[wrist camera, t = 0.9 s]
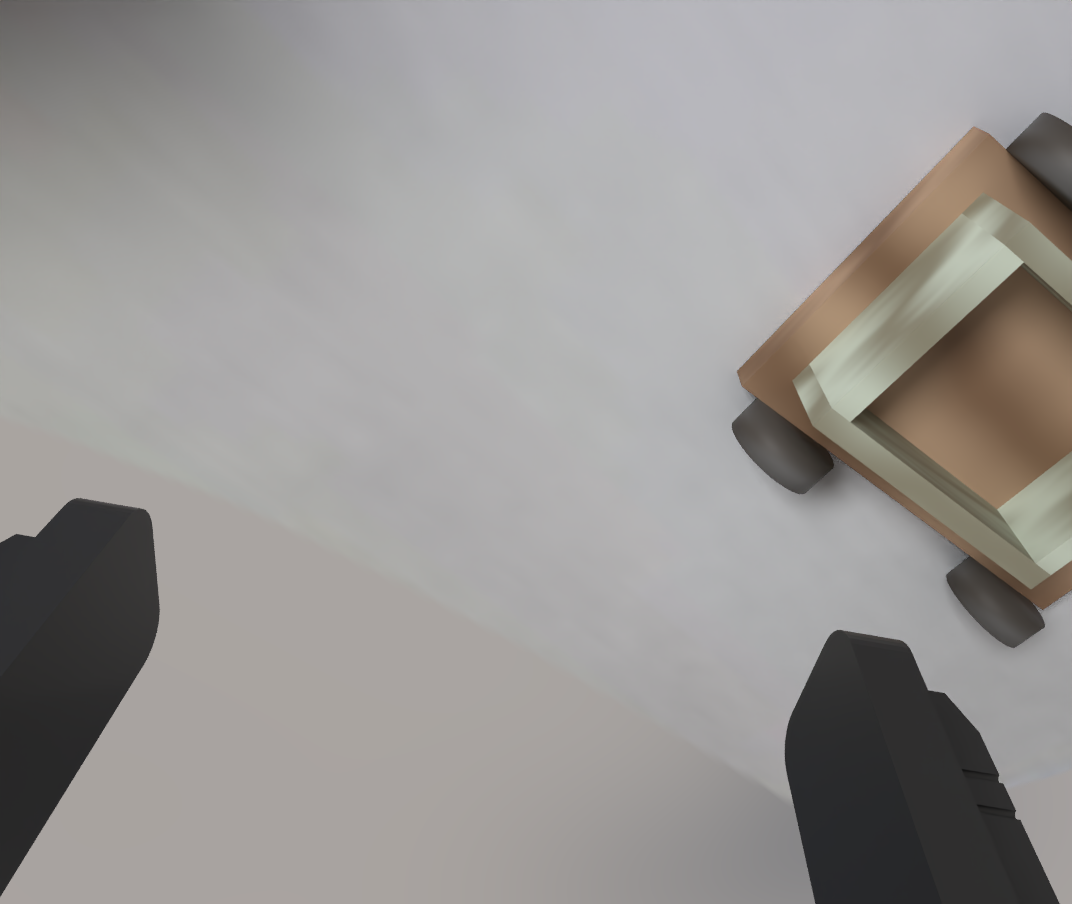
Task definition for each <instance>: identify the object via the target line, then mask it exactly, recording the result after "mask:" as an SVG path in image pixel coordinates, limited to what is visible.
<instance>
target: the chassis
mask: <svg viewBox="0 0 1072 904" xmlns="http://www.w3.org/2000/svg"><path fill="white" fill-rule="evenodd" d="M737 373H738V376H739V379H740V382H741V385H742V387H743V388H745V389H746V390H748V391H749V392H750V393H752V394H753V395H754V396H756V397H757V399H756V400H755V401H754V402H753V403H752V404H751V405H750V406H749V407H748V408H747V409H746V410H745V411H744V412H743V413H742V414H741V415H740V416H739V417H738V418H737V419H736V420H735V421H734V422H733V423H732V430H733V433H734V435H735V437H736V439H737V440H738V442H739V443H740V445H741V446H742V448H743V449H744V450H745V452H746V453H747V454H748V455H749V456H750V458H751V459H752V460H753V461H754V462H755V463H756V464H757V465H758V466H759V467H760V468H761V469H762V470H763V471H764V472H765V473H766V474H768V475H769V476H770V477H771V478H772V479H774V480H775V481H776V482H778V483H779V484H780V485H782V486H783V487H785V488H787V489H788V490H790V491H792V492H795V493H798V494H804V493H806V492H807V491H808V490H809V489H810V488H811V487H812V486H814V485H815V484H816V483H817V482H818V481H819V480H820V479H821V478H823V477H824V476H825V475H826V474H827V473H828V472H829V471H830V470H831V469H833V467H834V463H833V460H832V458H831V456H830V454H829V452H828V451H830V452H831V453H832V454H834V455H835V456H836V457H838V458H839V459H840V460H842V461H843V462H844V463H846V464H847V465H848V466H850V467H851V468H852V469H854V470H855V471H856V472H858V473H859V474H861V475H862V476H863V477H865V478H866V479H867V480H869V481H870V482H871V483H873V484H874V485H875V486H877V487H878V488H879V489H881V490H882V491H883V492H885V493H886V494H887V495H889V496H890V497H891V498H893V499H894V500H896V501H897V502H898V503H900V504H901V505H902V506H904V507H905V508H906V509H908V510H909V511H910V512H912V513H913V514H914V515H916V516H917V517H918V518H920V519H921V520H922V521H924V522H925V523H926V524H928V525H929V526H930V527H932V528H933V529H935V530H936V531H937V532H939V533H940V534H941V535H943V536H944V537H945V538H947V539H948V540H949V541H951V542H952V543H953V544H955V545H956V546H957V547H959V548H960V549H961V550H963V551H964V552H965V553H967V554H968V555H969V556H970V557H969V558H967V559H966V560H965V561H963V562H962V563H961V564H959V565H958V566H957V567H955V568H954V569H953V570H952V571H950V572H949V573H948V574H947V575H946V578H947V581H948V584H949V586H950V587H951V589H952V591H953V592H954V594H955V595H956V597H957V598H958V600H959V601H960V602H961V603H962V605H963V606H964V607H965V608H966V610H967V611H968V612H969V613H970V614H971V615H972V616H973V617H974V619H975V620H976V621H977V622H978V623H979V624H980V625H981V626H982V627H983V628H984V629H986V630H987V631H988V632H989V633H990V634H991V635H992V636H994V637H995V638H996V639H997V640H999V641H1000V642H1002V643H1003V644H1005V645H1007V646H1009V647H1012V648H1015V647H1016V646H1018V645H1019V644H1021V643H1022V642H1024V641H1025V640H1027V639H1028V638H1030V637H1031V636H1032V635H1034V634H1035V633H1037V632H1038V631H1040V630H1041V629H1043V628H1044V627H1045V623H1044V620H1043V618H1042V617H1041V615H1040V613H1039V612H1038V610H1037V609H1036V607H1035V606H1034V605H1033V603H1034V604H1035V605H1037V606H1038V607H1039V608H1041V609H1042V610H1043V609H1045V608H1046V607H1048V606H1049V605H1051V604H1052V603H1053V602H1055V601H1056V600H1058V599H1059V598H1061V597H1062V596H1063V595H1065V594H1066V593H1068V592H1069V591H1071V590H1072V126H1071V125H1069V124H1068V123H1066V122H1064V121H1063V120H1061V119H1059V118H1057V117H1055V116H1053V115H1051V114H1048V113H1042V114H1041V115H1040V116H1039V117H1038V118H1037V119H1036V120H1035V121H1034V122H1033V123H1032V124H1031V125H1030V126H1029V127H1028V128H1027V129H1026V130H1025V131H1024V132H1023V133H1022V134H1021V135H1020V136H1019V137H1018V138H1017V139H1016V140H1015V141H1014V142H1013V143H1012V144H1011V145H1010V146H1009V147H1008V148H1007V149H1005V148H1004V147H1003V146H1002V145H1001V144H1000V143H998V142H997V141H996V140H995V139H994V138H993V137H992V136H991V135H990V134H988V133H986V132H984V131H982V130H980V129H978V128H976V127H973V128H972V129H971V130H970V131H969V132H968V133H967V134H966V135H965V136H964V137H963V138H962V139H961V140H960V141H959V142H958V143H957V144H956V145H955V146H954V147H953V149H952V150H951V151H950V152H949V153H948V154H947V155H946V156H945V157H944V158H943V159H942V160H941V161H940V162H939V163H938V164H937V165H936V166H935V167H934V168H933V169H932V170H931V171H930V172H929V173H928V174H927V175H926V176H925V177H924V179H923V180H922V181H921V182H920V183H919V184H918V185H917V186H916V187H915V188H914V189H913V190H912V191H911V192H910V193H909V194H908V195H907V196H906V197H905V198H904V199H903V200H902V201H901V202H900V203H899V204H898V205H897V206H896V207H895V209H894V210H893V211H892V212H891V213H890V214H889V215H888V216H887V217H886V218H885V219H884V220H883V221H882V222H881V223H880V224H879V225H878V226H877V227H876V228H875V229H874V230H873V231H872V232H871V233H870V234H869V235H868V236H867V237H866V239H865V240H864V241H863V242H862V243H861V244H860V245H859V246H858V247H857V248H856V249H855V250H854V251H853V252H852V253H851V254H850V255H849V256H848V257H847V258H846V259H845V260H844V261H843V262H842V263H841V264H840V265H839V266H838V267H837V269H836V270H835V271H834V272H833V273H832V274H831V275H830V276H829V277H828V278H827V279H826V280H825V281H824V282H823V283H822V284H821V285H820V286H819V287H818V288H817V289H816V290H815V291H814V292H813V293H812V294H811V295H810V296H809V297H808V299H807V300H806V301H805V302H804V303H803V304H802V305H801V306H800V307H799V308H798V309H797V310H796V311H795V312H794V313H793V314H792V315H791V316H790V317H789V318H788V319H787V320H786V321H785V322H784V323H783V324H782V325H781V326H780V327H779V329H778V330H777V331H776V332H775V333H774V334H773V335H772V336H771V337H770V338H769V339H768V340H767V341H766V342H765V343H764V344H763V345H762V346H761V347H760V348H759V349H758V350H757V351H756V352H755V353H754V354H753V355H752V356H751V357H750V359H749V360H748V361H747V362H746V363H745V364H744V365H743V366H742V367H741V368H740V369H739V370H738V371H737ZM827 450H828V451H827ZM1032 602H1033V603H1032Z"/></svg>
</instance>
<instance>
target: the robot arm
mask: <svg viewBox="0 0 1072 904" xmlns="http://www.w3.org/2000/svg"><path fill="white" fill-rule="evenodd" d="M159 610H160V609H159V596H158V585H157V573H156V564H155V551H154V540H153V529H152V522H151V518H150V515H149V514H148V512H147V511H146V510H144V509H140V508H134V507H128V506H123V505H116V504H111V503H105V502H99V501H93V500H87V499H82V498H76V499H73V500H71V501H70V502H68V503H67V504H66V505H65V506H64V507H63V508H62V509H61V510H60V511H59V512H58V513H57V514H56V515H55V516H54V518H53V519H52V520H51V521H50V522H49V523H48V524H47V525H46V526H45V527H44V528H43V529H42V530H41V532H40V533H39V534H38V535H37V536H36V537H30V536H24V535H19V534H16V535H14V536H12V537H10V538H8V539H6V540H5V541H3V542H1V543H0V896H1V895H2V893H3V891H4V890H5V888H6V887H7V885H8V883H9V882H10V880H11V878H12V877H13V875H14V874H15V872H16V870H17V869H18V867H19V866H20V864H21V862H22V861H23V859H24V857H25V856H26V854H27V853H28V851H29V849H30V848H31V846H32V845H33V843H34V841H35V840H36V838H37V836H38V835H39V833H40V832H41V830H42V828H43V827H44V825H45V824H46V822H47V820H48V819H49V817H50V815H51V814H52V812H53V811H54V809H55V807H56V806H57V804H58V802H59V801H60V799H61V798H62V796H63V794H64V793H65V791H66V790H67V788H68V786H69V784H70V783H71V781H72V780H73V778H74V777H75V775H76V773H77V772H78V770H79V769H80V766H81V765H82V764H83V762H84V760H85V759H86V757H87V756H88V754H89V752H90V751H91V749H92V747H93V746H94V744H95V743H96V741H97V739H98V738H99V736H100V735H101V733H102V731H103V730H104V728H105V726H106V724H107V723H108V722H109V720H110V718H111V717H112V715H113V714H114V712H115V710H116V709H117V707H118V705H119V704H120V702H121V700H122V699H123V697H124V696H125V694H126V692H127V691H128V689H129V688H130V686H131V684H132V683H133V681H134V680H135V678H136V676H137V675H138V673H139V671H140V670H141V668H142V667H143V665H144V663H145V661H146V660H147V658H148V656H149V653H150V651H151V649H152V646H153V643H154V640H155V637H156V633H157V628H158V622H159V612H160V611H159ZM785 765H786V771H787V776H788V781H789V785H790V790H791V794H792V799H793V803H794V808H795V813H796V817H797V822H798V826H799V831H800V835H801V840H802V845H803V849H804V853H805V858H806V863H807V867H808V872H809V876H810V881H811V886H812V890H813V895H814V899H815V903H816V904H1059V902H1058V899H1057V897H1056V895H1055V893H1054V891H1053V889H1052V887H1051V885H1050V883H1049V880H1048V878H1047V876H1046V874H1045V872H1044V870H1043V867H1042V865H1041V863H1040V861H1039V859H1038V857H1037V855H1036V853H1035V850H1034V848H1033V846H1032V844H1031V842H1030V840H1029V838H1028V835H1027V833H1026V831H1025V829H1024V827H1023V825H1022V823H1021V820H1017V819H1016V818H1015V812H1016V810H1015V808H1014V806H1013V803H1012V801H1011V799H1010V797H1009V795H1008V793H1007V791H1006V788H1005V786H1004V784H1002V783H999V781H998V777H999V774H998V771H997V769H996V767H995V765H994V763H993V761H992V759H991V756H990V754H989V752H988V750H987V748H986V746H985V744H984V742H983V739H982V737H981V735H980V733H979V732H978V731H977V729H976V728H975V727H974V726H973V725H972V724H971V723H970V721H969V720H968V719H967V718H966V717H965V716H964V715H963V713H962V712H961V711H960V710H959V709H958V708H957V707H956V706H955V704H954V703H953V702H952V701H951V700H950V699H949V698H948V696H947V695H946V694H945V693H940V692H934V691H928V689H927V687H926V685H925V682H924V680H923V678H922V675H921V673H920V671H919V668H918V666H917V664H916V661H915V659H914V657H913V654H912V652H911V650H910V648H909V647H908V646H907V644H905V643H904V642H903V641H900V640H895V639H889V638H884V637H878V636H872V635H866V634H860V633H854V632H848V631H843V630H837V631H835V632H833V633H832V634H831V635H830V636H829V638H828V639H827V641H826V643H825V645H824V647H823V649H822V651H821V653H820V655H819V657H818V660H817V662H816V664H815V666H814V668H813V670H812V672H811V674H810V676H809V679H808V681H807V683H806V685H805V687H804V689H803V691H802V693H801V695H800V698H799V700H798V702H797V704H796V706H795V708H794V710H793V712H792V715H791V717H790V720H789V723H788V728H787V733H786V740H785Z"/></svg>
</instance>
